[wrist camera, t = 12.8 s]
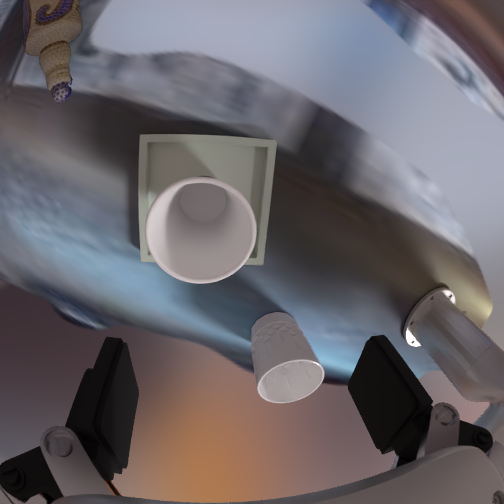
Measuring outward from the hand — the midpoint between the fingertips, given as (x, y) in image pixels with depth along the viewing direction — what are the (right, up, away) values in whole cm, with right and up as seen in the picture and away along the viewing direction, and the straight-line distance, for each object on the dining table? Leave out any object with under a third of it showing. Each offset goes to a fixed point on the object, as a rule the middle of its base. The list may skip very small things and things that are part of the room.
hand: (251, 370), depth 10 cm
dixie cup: (-5, +10, +20) cm, 23 cm away
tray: (-5, +10, +20) cm, 23 cm away
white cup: (+3, -6, +29) cm, 30 cm away
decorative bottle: (-24, +33, +8) cm, 41 cm away
